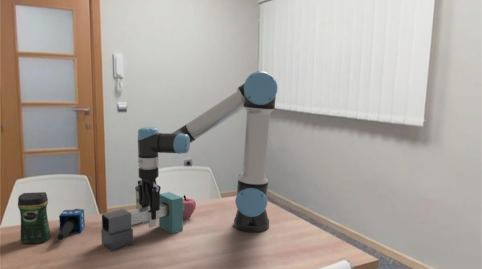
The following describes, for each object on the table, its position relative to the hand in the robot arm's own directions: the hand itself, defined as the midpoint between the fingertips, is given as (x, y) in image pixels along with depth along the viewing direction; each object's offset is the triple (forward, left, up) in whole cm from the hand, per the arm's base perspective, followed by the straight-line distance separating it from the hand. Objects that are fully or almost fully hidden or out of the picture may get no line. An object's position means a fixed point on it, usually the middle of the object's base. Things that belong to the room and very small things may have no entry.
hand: (149, 224), depth 144 cm
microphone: (+22, +22, -4) cm, 32 cm away
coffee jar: (+24, +35, -4) cm, 42 cm away
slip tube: (0, +3, +3) cm, 4 cm away
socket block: (0, -10, -4) cm, 11 cm away
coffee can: (+18, -9, -4) cm, 21 cm away
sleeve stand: (0, +13, -4) cm, 14 cm away
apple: (+6, -21, -4) cm, 23 cm away
